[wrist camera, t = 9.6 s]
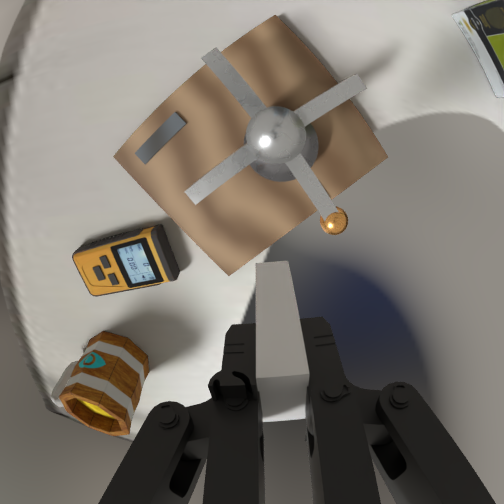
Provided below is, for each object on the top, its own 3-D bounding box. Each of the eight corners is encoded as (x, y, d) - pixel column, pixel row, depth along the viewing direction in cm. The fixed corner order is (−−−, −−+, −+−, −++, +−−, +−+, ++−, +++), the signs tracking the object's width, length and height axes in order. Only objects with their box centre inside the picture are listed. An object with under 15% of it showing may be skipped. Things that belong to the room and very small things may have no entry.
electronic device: (78, 244, 38) (67, 254, 35) (162, 219, 36) (153, 228, 33) (99, 289, 42) (90, 300, 39) (182, 273, 40) (176, 286, 37)
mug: (132, 329, 45) (102, 396, 31) (161, 378, 50) (144, 440, 37) (59, 332, 46) (26, 383, 33) (89, 376, 52) (66, 426, 39)
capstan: (154, 120, 29) (123, 122, 21) (288, 25, 24) (298, -2, 16) (261, 251, 36) (263, 288, 29) (385, 168, 31) (420, 185, 23)
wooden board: (274, 18, 24) (275, 14, 23) (384, 155, 32) (389, 157, 30) (117, 155, 32) (112, 156, 30) (229, 271, 39) (228, 277, 38)
